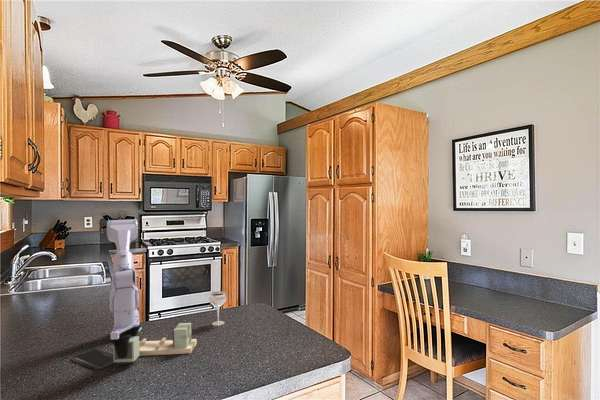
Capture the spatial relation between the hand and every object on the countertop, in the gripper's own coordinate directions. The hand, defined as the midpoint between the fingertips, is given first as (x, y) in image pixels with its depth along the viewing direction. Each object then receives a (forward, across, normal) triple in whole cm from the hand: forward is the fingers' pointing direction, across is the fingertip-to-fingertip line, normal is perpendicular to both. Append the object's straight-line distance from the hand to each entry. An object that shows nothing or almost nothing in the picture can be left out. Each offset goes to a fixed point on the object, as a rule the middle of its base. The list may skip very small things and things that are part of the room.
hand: (126, 353), depth 106 cm
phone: (+4, +4, +11) cm, 12 cm away
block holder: (+3, +9, -8) cm, 13 cm away
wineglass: (+3, +32, -22) cm, 39 cm away
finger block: (+2, 0, 0) cm, 2 cm away
